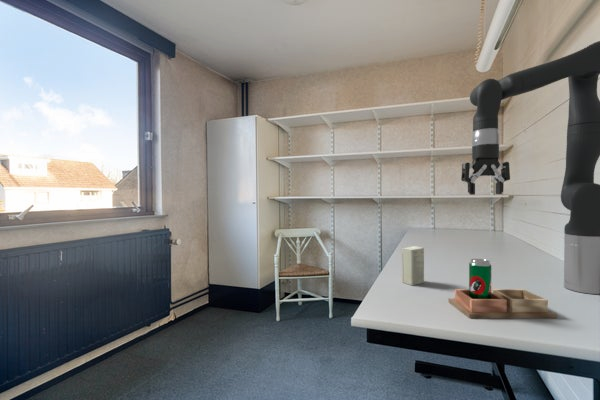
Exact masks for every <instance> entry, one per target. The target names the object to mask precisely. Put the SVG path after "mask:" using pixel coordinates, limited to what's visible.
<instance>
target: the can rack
mask: <svg viewBox="0 0 600 400" xmlns="http://www.w3.org/2000/svg"><path fill="white" fill-rule="evenodd" d="M447 303H449V304H450V305H452V306H453V307H454V308H455V309H456V310H458V311H459V312H461V313H462V314H463V315H464V316H466V317H467V318H468V319H557V313H555V312H553V311H551V310H550V309H548V308H549V305H548V299H546V298H543V297H541V296H540V295H537V294H536V293H535V294H534V293H533V292H530V291H528V290H526V289H524V288H493V289H492V288H491V299H472V298H470V297H469V288H468V289H467V288H466V289H463V288H461V289H460V288H457V289H456V288H455V289H454V298H448V302H447Z"/></svg>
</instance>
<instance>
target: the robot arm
mask: <svg viewBox="0 0 600 400" xmlns="http://www.w3.org/2000/svg"><path fill="white" fill-rule="evenodd" d="M599 76H600V40H598V41H596V42H593V43H591V44H589V45H588V46H586V47H584V48H582V49H580V50H577V51H575V52H573V53H571V54H568V55H565V56H562V57H560V58H557V59H555V60H551V61H549V62H545V63H542V64H539V65H535V66H532V67H529V68H526V69H522V70H519V71H516V72H513V73H512V72H511V73H510V74H508V75H506V76H504V77H503V78H501V79H498V80H497V79H495V78H487V79H485V80H483V81H482V82H480V83H479V84H478V85H477V86H476V87H475V88H473V89H472V91H471V93H470V95H469V100H470V103H471V104H472V105H473V106H474V107H476V112H475V113H474V115H473V118H472V136H471V137H472V138H471V159H472V160H471V161H472V162H464V163H462V164H461V182H464V183H467V193H468V194H469V195H473V196H475V194H476V183H475V182H476V180H477V179H478V178H480V177H485V176H486V177H489V176H490V177H491V178H492V179H493V180H494V181H495V195H502V194H503V193H504V183H505V182H507V181H509V180H511V174H510V162H509V161H502V162H500V161H499V160H500V159H499V158H500V134H499V112H500V109H501V105H502V104H501V103H502V101H503V100H506V99H508V98H512V97H515V96H520V95H523V94H526V93H529V92H532V91H536V90H537V89H540V88H543V87H546V86H549V85H551V84H553V83H556V82H558V81H561V80H564V79H568V92H569V93H568V94H569V95H568V96H569V98H568V116H567V117H568V120H567V129H566V152H565V153H566V154H565V168H564V169H565V170H564V171H565V172H564V177H563V182H562V187H561V191H560V201H561V204H562V206H563V207H564V208H566V209H567V210H568V211H570V214H569V215H570V217H569V219H568V220H569V221H568V222H567V223H566V224H565V225H564V231H563V232H564V237H563V240H564V245H563V247H564V248H563V249H564V250H563V251H564V252H563V253H564V254H563V258H564V259H563V261H564V262H563V266H564V267H563V287H564V288H565V289H567V290H570V291H574V292H578V293H581V294H582V293H584V294H592V295H600V184H599V183H595V181H594V180H595V169H596V166H597V162H598V161H599V159H600V99H599V97H598V81H599ZM471 169H472V170H473V171H471V174H470V170H471ZM498 169H500V171H499V170H498Z"/></svg>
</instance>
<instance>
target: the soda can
mask: <svg viewBox="0 0 600 400" xmlns="http://www.w3.org/2000/svg"><path fill="white" fill-rule="evenodd" d="M468 289H469V297H470V298H472V299H491V289H492V264H491V262H490V260H489V259H483V258H471V259H470V262H469V263H468Z"/></svg>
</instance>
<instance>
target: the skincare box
mask: <svg viewBox="0 0 600 400" xmlns="http://www.w3.org/2000/svg"><path fill="white" fill-rule="evenodd" d="M401 249H402V250H401V252H402V253H401V257H402V258H401V259H402V260H401V261H402V262H401V265H402V266H401V269H402V271H401V272H402V273H401V278H402V280H401V281H402V283H403V284H407V285H409V286H415V285H420V284H424V283H425V247H420V246H417V245H412V246H405V247H402V248H401Z"/></svg>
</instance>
